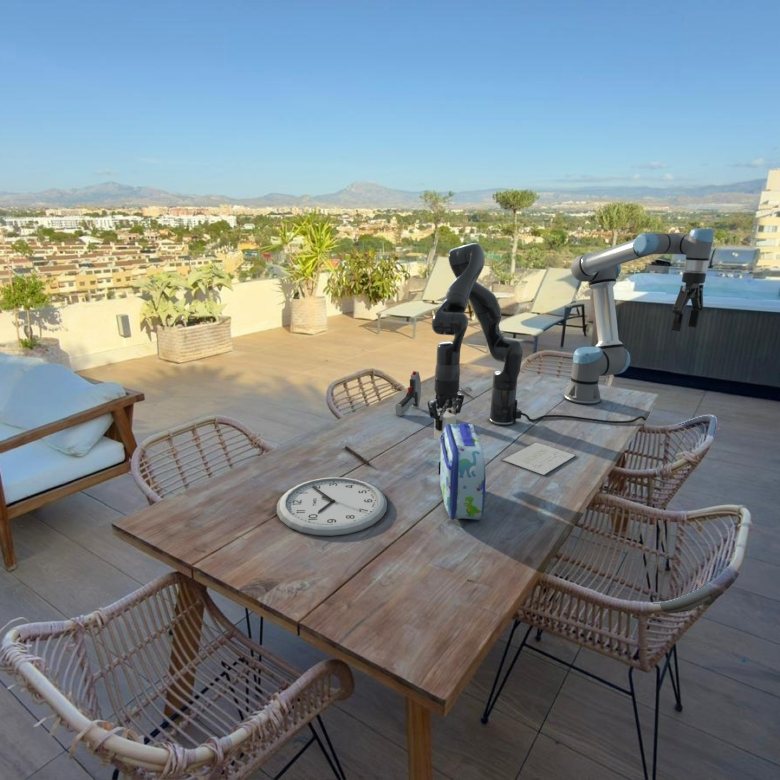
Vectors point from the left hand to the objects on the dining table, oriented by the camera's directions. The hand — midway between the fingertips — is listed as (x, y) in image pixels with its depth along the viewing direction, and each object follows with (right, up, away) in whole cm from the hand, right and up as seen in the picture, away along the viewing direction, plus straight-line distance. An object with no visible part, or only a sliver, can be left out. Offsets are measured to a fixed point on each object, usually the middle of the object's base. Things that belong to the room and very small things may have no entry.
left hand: (444, 428), depth 165 cm
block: (0, -4, +1) cm, 4 cm away
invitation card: (+33, -11, +9) cm, 35 cm away
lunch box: (+2, -19, -20) cm, 27 cm away
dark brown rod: (-28, -10, +8) cm, 31 cm away
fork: (+16, +11, +78) cm, 80 cm away
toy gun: (-10, +3, +51) cm, 52 cm away
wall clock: (-33, -19, -22) cm, 44 cm away
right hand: (+95, +35, +35) cm, 107 cm away
